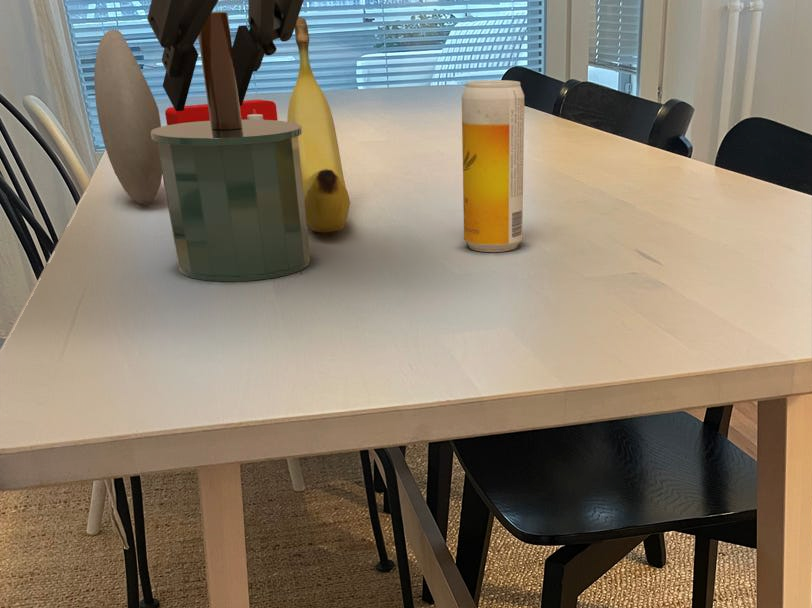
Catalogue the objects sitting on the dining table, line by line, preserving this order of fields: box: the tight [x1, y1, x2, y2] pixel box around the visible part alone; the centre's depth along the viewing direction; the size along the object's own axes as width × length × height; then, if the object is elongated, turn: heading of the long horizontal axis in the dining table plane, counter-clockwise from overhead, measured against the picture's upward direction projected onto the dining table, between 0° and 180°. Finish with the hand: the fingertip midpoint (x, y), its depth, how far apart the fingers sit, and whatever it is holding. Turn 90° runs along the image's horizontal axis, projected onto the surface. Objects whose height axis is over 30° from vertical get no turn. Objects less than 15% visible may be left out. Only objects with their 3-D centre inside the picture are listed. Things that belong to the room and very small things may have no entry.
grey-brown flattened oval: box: [93, 29, 163, 205], centre depth 120 cm, size 18×7×19 cm, turn 21°
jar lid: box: [151, 11, 302, 146], centre depth 88 cm, size 14×14×10 cm
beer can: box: [461, 79, 525, 253], centre depth 99 cm, size 6×6×15 cm
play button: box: [164, 99, 279, 126], centre depth 132 cm, size 15×3×10 cm, turn 133°
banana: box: [286, 16, 351, 233], centre depth 107 cm, size 23×6×20 cm, turn 12°
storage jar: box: [157, 137, 311, 283], centre depth 94 cm, size 13×13×12 cm
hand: (203, 95), depth 91 cm, fingers open, 5 cm apart
